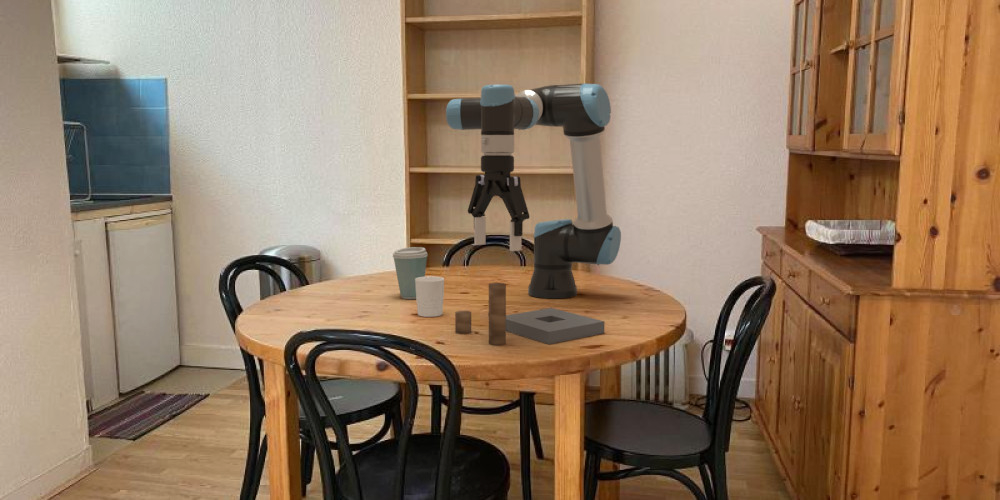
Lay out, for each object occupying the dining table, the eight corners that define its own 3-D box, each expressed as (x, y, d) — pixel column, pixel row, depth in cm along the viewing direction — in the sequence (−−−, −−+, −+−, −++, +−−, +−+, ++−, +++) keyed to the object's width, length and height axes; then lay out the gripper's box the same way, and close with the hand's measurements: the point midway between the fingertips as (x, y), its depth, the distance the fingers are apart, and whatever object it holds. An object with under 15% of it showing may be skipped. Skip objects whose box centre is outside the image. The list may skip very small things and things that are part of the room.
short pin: (452, 331, 191) (452, 312, 190) (465, 329, 193) (465, 309, 193) (461, 334, 188) (461, 314, 187) (474, 332, 190) (474, 312, 189)
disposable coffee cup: (413, 302, 227) (413, 252, 225) (385, 298, 232) (384, 249, 230) (435, 296, 236) (434, 248, 234) (407, 293, 241) (407, 245, 239)
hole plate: (497, 328, 194) (497, 316, 194) (551, 318, 205) (551, 307, 205) (548, 344, 178) (548, 331, 178) (604, 333, 189) (604, 321, 189)
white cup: (422, 318, 205) (421, 282, 204) (411, 313, 212) (410, 277, 211) (449, 315, 209) (448, 279, 207) (437, 310, 216) (437, 275, 214)
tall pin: (485, 342, 180) (485, 284, 178) (498, 340, 182) (498, 282, 180) (495, 346, 177) (495, 286, 175) (509, 343, 179) (509, 284, 177)
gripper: (453, 154, 181) (453, 243, 184) (518, 154, 161) (518, 254, 164) (478, 154, 186) (479, 241, 188) (545, 154, 166) (544, 252, 169)
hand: (497, 247), depth 176 cm, fingers open, 13 cm apart
